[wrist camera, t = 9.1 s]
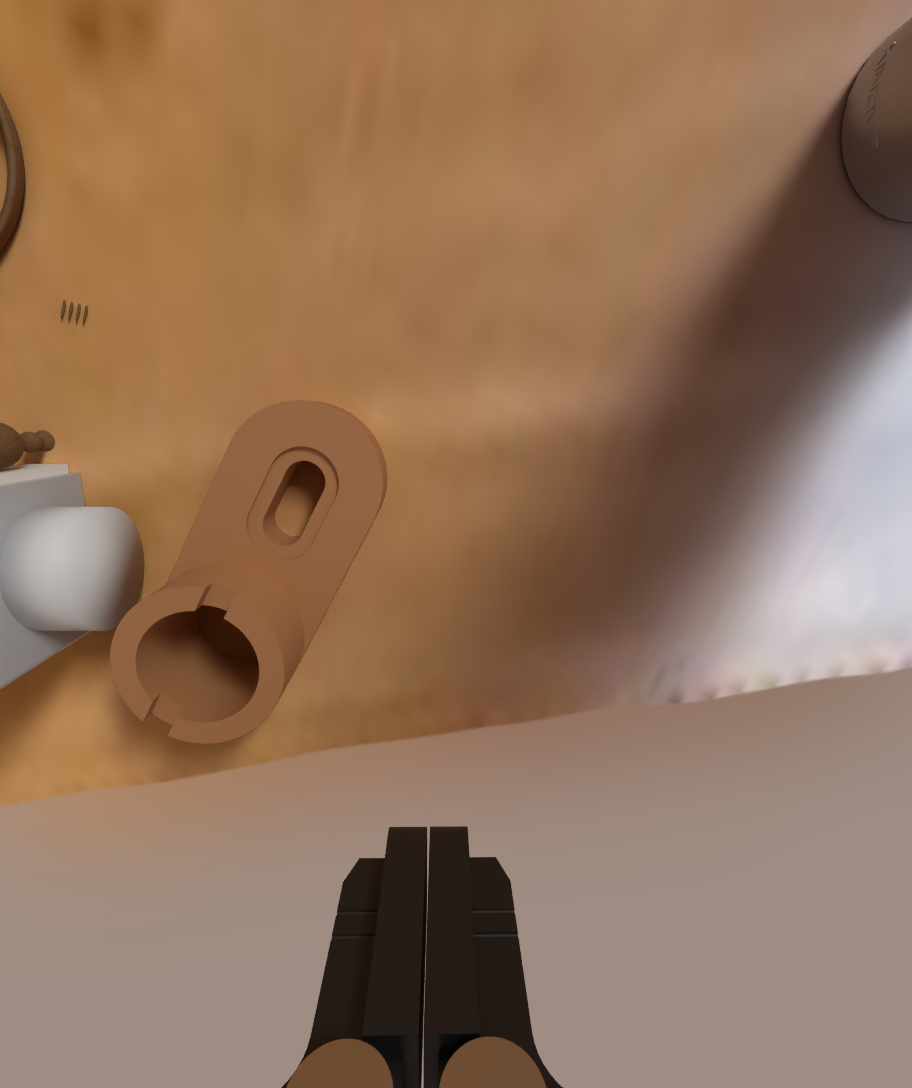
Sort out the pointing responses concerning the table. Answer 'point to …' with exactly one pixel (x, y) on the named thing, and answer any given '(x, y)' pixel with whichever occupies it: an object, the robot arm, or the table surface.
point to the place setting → (3, 442)
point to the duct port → (59, 566)
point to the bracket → (251, 574)
